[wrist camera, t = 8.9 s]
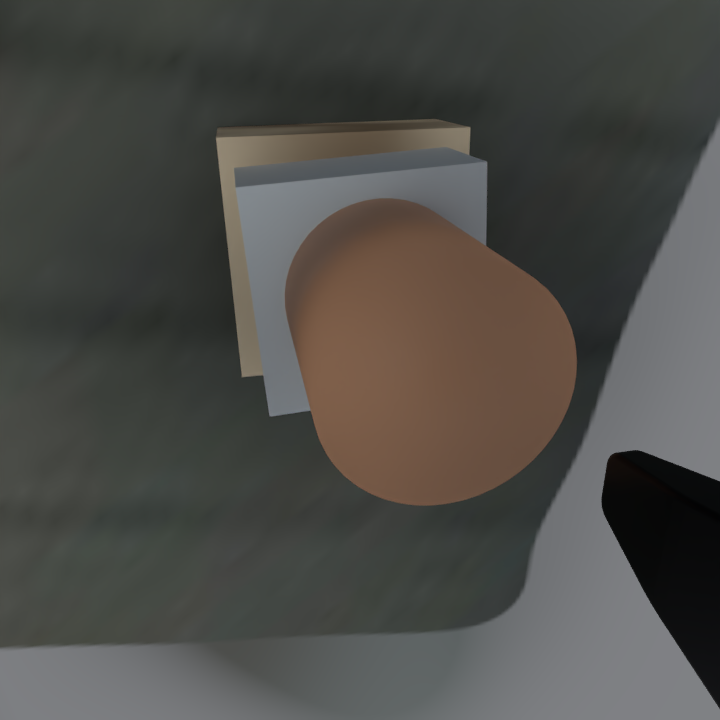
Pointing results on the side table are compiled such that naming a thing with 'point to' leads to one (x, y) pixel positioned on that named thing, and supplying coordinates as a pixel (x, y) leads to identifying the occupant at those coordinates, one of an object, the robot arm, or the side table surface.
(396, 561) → the side table surface
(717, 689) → the robot arm
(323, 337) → the terracotta rounded cylinder
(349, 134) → the oak base block
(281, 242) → the grey-blue top block
